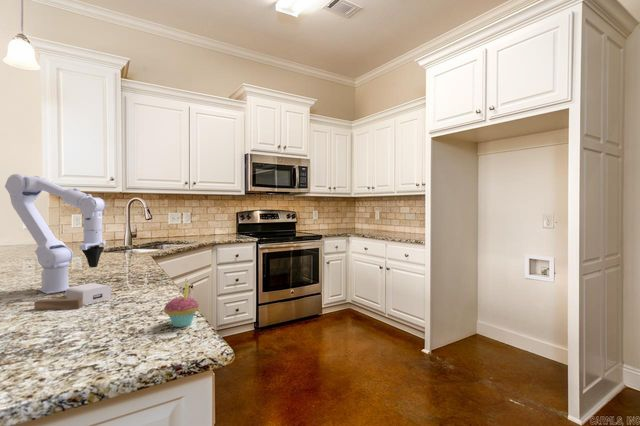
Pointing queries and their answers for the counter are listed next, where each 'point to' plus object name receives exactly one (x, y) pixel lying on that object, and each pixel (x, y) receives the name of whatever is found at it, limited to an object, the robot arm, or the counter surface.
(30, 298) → the counter surface
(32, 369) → the counter surface
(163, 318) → the counter surface
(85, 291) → the charger
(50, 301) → the bar
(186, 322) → the cupcake
